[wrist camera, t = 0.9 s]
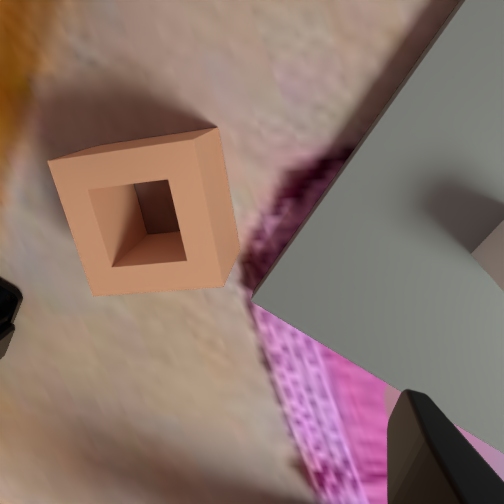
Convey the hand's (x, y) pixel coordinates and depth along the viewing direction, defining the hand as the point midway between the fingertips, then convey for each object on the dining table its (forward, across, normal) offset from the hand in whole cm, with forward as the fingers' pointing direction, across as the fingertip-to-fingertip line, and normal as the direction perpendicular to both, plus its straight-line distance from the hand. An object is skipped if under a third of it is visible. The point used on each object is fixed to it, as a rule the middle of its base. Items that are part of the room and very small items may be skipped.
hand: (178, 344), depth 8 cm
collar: (+12, +4, +2) cm, 13 cm away
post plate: (+12, -11, 0) cm, 17 cm away
